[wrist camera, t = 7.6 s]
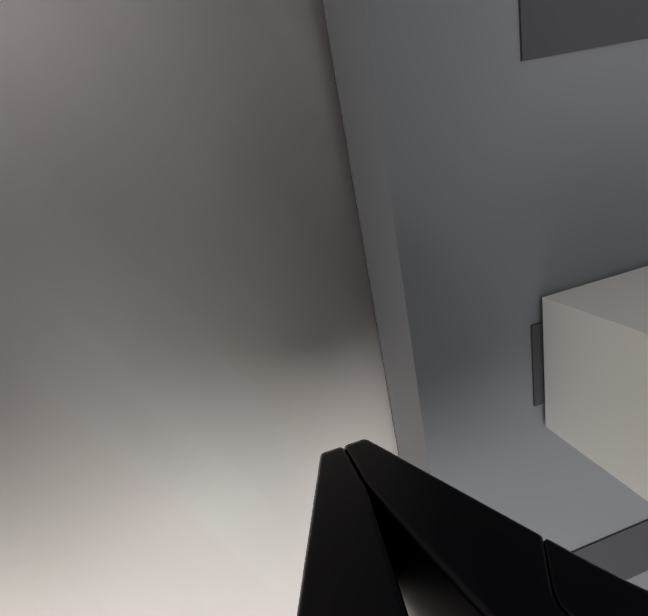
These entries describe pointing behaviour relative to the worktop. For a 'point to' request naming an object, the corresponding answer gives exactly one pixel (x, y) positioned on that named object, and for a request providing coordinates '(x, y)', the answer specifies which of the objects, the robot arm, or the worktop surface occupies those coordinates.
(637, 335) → the block
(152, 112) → the worktop surface
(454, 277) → the breaker panel
